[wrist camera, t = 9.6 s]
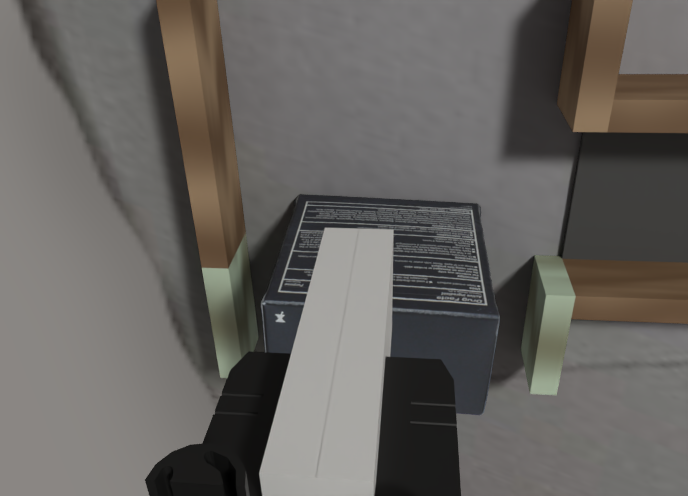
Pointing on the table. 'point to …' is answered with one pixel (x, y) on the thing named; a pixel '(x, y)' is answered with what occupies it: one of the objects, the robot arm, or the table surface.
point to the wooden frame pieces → (548, 271)
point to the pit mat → (629, 198)
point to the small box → (402, 283)
